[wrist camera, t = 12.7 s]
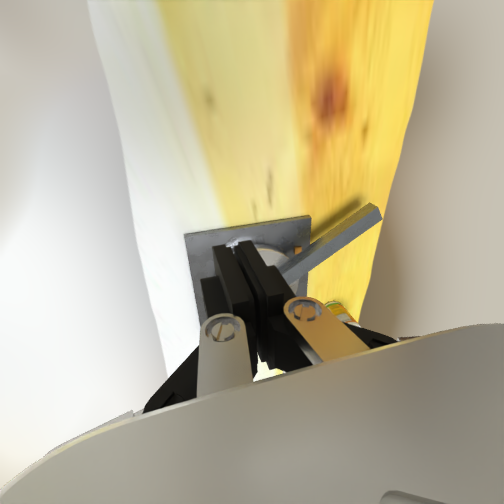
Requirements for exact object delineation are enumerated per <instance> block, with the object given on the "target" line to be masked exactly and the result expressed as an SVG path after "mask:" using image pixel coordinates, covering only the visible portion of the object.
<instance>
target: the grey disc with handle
mask: <svg viewBox="0 0 504 504" xmlns="http://www.w3.org/2000/svg"><path fill="white" fill-rule="evenodd" d="M381 220H382V217H381V214H380V211H379V209H378V207H377V206H375V205H373V204H371V203H368V204H367V205H366V206H364V207H363V208H361V209H360V210H359V211H357V212H356V213H354V214H353V215H352V216H350V217H349V218H347V219H346V220H345V221H343V222H342V223H340V224H339V225H338V226H336V227H335V228H333V229H332V230H331V231H329V232H328V233H326V234H325V235H324V236H322V237H321V238H319V239H318V240H317V241H315V242H314V243H312V244H311V245H310V246H308V247H307V248H305V249H304V250H303V251H301V252H300V253H298V254H297V255H296V256H294V257H293V258H291V259H289V258H288V257H287V255H286V254H285V253H284V252H283V251H281V250H280V249H278V248H276V247H274V246H270V245H264V244H256V245H254V246H255V247H256V249H257V250H258V252H259V254H260V255H261V257H262V258H263V260H264V262H265V263H266V265H267V266H271V265H275V266H276V267H277V269H278V270H279V272H280V273H281V275H282V276H283V278H284V279H285V280H286V282H287V283H288V285H289V286H290V288H291V289H292V291H293V292H294V294H296V291H297V288H298V279H299V278H300V277H302V276H303V275H304V274H306V273H307V272H309V271H310V270H311V269H313V268H314V267H316V266H317V265H318V264H320V263H321V262H323V261H324V260H326V259H327V258H328V257H330V256H331V255H333V254H334V253H335V252H337V251H338V250H340V249H341V248H343V247H344V246H345V245H347V244H348V243H350V242H351V241H352V240H354V239H355V238H357V237H358V236H359V235H361V234H362V233H364V232H365V231H367V230H368V229H369V228H371V227H372V226H374V225H375V224H376V223H378V222H379V221H381ZM233 253H234V252H233ZM215 276H216V275H215Z"/></svg>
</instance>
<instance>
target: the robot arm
mask: <svg viewBox="0 0 504 504" xmlns="http://www.w3.org/2000/svg"><path fill="white" fill-rule="evenodd" d="M212 252H213V259H214V267H215V275H216V276H213V277H207V278H202V279H200V284H201V290H202V296H203V302H204V307H205V312H206V318H207V320H206V321H205V322H204V323H203V325H202V326H201V330H200V341H199V346H198V347H197V348H196V349H195V350H194V351H193V352H192V353H191V354H190V355H189V356H188V358H187V359H186V360H185V361H184V362H183V363H182V364H181V365H180V366H179V367H178V369H177V370H176V371H175V372H174V373H173V374H172V375H171V376H170V377H169V378H168V379H167V381H166V382H165V383H164V384H163V385H162V386H161V387H160V388H159V389H158V390H157V392H156V393H155V394H154V395H153V396H152V397H151V398H150V400H149V401H148V402H147V404H146V405H145V408H144V409H142V410H140V411H138V412H136V413H133V411H132V410H131V411H129V412H127V413H125V414H123V415H121V416H119V417H117V418H115V419H112V420H110V421H108V422H106V423H104V424H102V425H100V426H98V427H96V428H94V429H92V430H90V431H88V432H85V433H83V434H82V435H79V436H77V437H75V438H73V439H71V440H69V441H67V442H65V443H63V444H61V445H59V446H57V447H56V448H54V449H52V450H51V451H49V452H48V453H47V454H46V455H45V456H44V457H43V458H42V459H40V460H38V461H37V462H35V463H33V464H32V465H30V466H29V467H28V468H26V469H25V470H23V471H22V472H21V473H19V474H18V475H17V476H15V477H14V478H13V479H12V480H10V481H9V482H8V483H7V484H6V485H4V486H3V487H2V488H1V489H0V504H504V324H498V323H496V324H477V325H470V326H463V327H458V328H454V329H449V330H445V331H440V332H436V333H432V334H428V335H424V336H415V337H398V339H397V341H396V340H394V339H393V338H391V337H389V336H386V335H383V334H380V333H377V332H374V331H371V330H367V329H364V328H361V327H358V326H355V325H351V324H348V323H345V322H342V321H340V320H339V319H338V318H337V317H336V316H335V315H334V314H333V313H332V312H331V311H330V310H329V309H328V308H327V307H326V306H325V305H324V304H322V303H321V302H320V301H318V300H316V299H314V298H311V297H296V295H295V294H294V292H293V291H292V289H291V288H290V286H289V285H288V283H287V282H286V280H285V279H284V278H283V276H282V275H281V273H280V272H279V270H278V269H277V267H276V266H275V265H271V266H267V265H266V263H265V262H264V260H263V258H262V257H261V255H260V254H259V252H258V250H257V249H256V247H255V246H254V244H253V242H252V241H251V240H247V241H241V242H238V245H237V246H234V253H233V251H232V249H231V247H226V245H225V244H223V245H217V246H212ZM257 352H258V353H257ZM258 355H259V357H260V360H261V362H267V365H268V368H269V370H272V369H275V368H277V369H280V370H282V371H283V374H280V375H276V376H273V377H269V378H265V379H262V380H258V381H255V382H253V378H254V377H255V375H256V374H257V372H258V371H257V364H258Z"/></svg>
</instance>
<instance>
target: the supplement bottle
mask: <svg viewBox="0 0 504 504" xmlns="http://www.w3.org/2000/svg"><path fill="white" fill-rule="evenodd" d="M325 306H326V307H327V308H328V309H329V310H330V311H331V312H332V313H333V314H334V315H335V316H336V317H337V318H338V319H339V320H340V321H342V322H345V323H348V324H351V325H355V326H358V327H360V325H359V324H358V323H357V322H356V321H355V320H354V318H353V317H352V316H351V315H350V314H349V313H348V311H347V310H346V309H345V308H344V307H343V306H342V305H341V304H340V303H339V302H335V301H334V302H329V303H327V304H325Z"/></svg>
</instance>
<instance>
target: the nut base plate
mask: <svg viewBox="0 0 504 504" xmlns="http://www.w3.org/2000/svg"><path fill="white" fill-rule="evenodd" d="M310 233H311V217H310V216H309V215H308V216H301V217H295V218H288V219H282V220H275V221H269V222H262V223H256V224H249V225H243V226H236V227H230V228H223V229H217V230H210V231H204V232H197V233H191V234H184V236H185V242H186V247H187V253H188V259H189V264H190V270H191V275H192V281H193V286H194V292H195V298H196V303H197V309H198V314H199V320H200V325H201V326H202V325H203V323H204V322H205V321H206V320H207V318H206V312H205V307H204V302H203V296H202V290H201V284H200V279H202V278H207V277H213V276H215V267H214V259H213V252H212V246H217V245H223V244H225V245H226V247H231V249H232V251H233V252H234V246H237V245H238V242H241V241H247V240H251V241H252V242H253V244H254V245H256V244H264V245H270V246H274V247H276V248H278V249H280V250H281V251H283V252H284V253H285V254H286V255H287V257H288V258H289V259H291V258H293V257H294V256H296V255H297V254H298V253H300V252H301V251H303V250H304V249H305V248H307V247H308V246H310ZM307 282H308V272H307V273H306V274H304V275H303V276H302V277H300V278H299V279H298V288H297V291H296V294H295V295H296V297H307Z"/></svg>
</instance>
